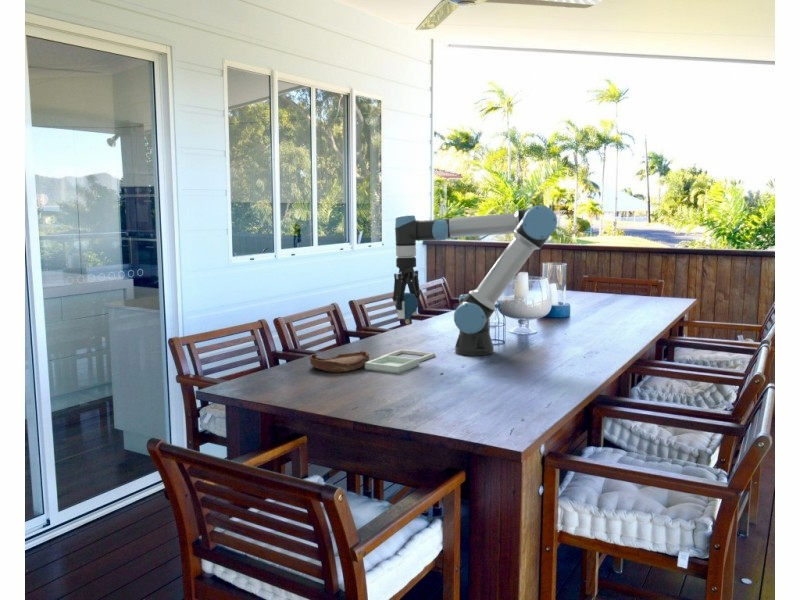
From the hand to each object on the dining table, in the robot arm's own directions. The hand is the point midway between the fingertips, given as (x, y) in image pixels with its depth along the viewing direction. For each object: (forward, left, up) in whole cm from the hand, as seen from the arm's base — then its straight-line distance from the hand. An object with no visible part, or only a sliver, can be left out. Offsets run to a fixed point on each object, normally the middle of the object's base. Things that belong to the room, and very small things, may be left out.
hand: (407, 316), depth 264 cm
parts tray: (-3, +17, -16) cm, 23 cm away
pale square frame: (0, 0, -16) cm, 16 cm away
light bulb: (0, 0, -3) cm, 3 cm away
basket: (+14, +24, -16) cm, 32 cm away
